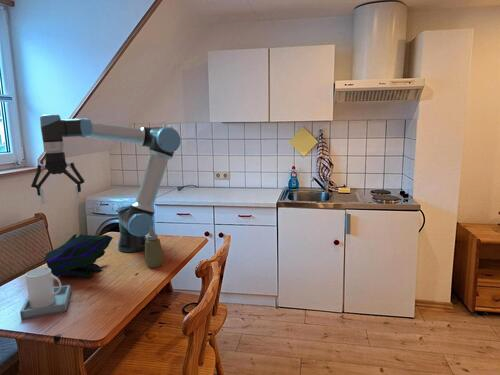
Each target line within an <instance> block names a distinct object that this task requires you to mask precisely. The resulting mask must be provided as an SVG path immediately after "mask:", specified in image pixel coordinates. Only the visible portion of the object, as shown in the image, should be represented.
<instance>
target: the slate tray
mask: <svg viewBox="0 0 500 375" xmlns="http://www.w3.org/2000/svg"><path fill="white" fill-rule="evenodd" d="M59 287H60V286H59V285H58V286H53V288H54V293H55V292H57V291H58V290H59ZM71 288H72V287H71V284H67V285H61V290H60V292H59V293H58V294H57V295H55V298H56V301H55V302H54V303H53V304H51V305H49V306H45V307H39V308H34V309H33V308H30V307H29V296H28V295H27V297H26V299H25V301H24V303H23V306H22V307H21V309H20V312H19V313H20V320H21V321H23V320H29V319H35V318H40V317H45V316H50V315H51V316H52V315H56V314H57V315H58V314H62V313H66V312H67V308H68V305H69V301H70V297H71V293H72V289H71Z"/></svg>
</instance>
